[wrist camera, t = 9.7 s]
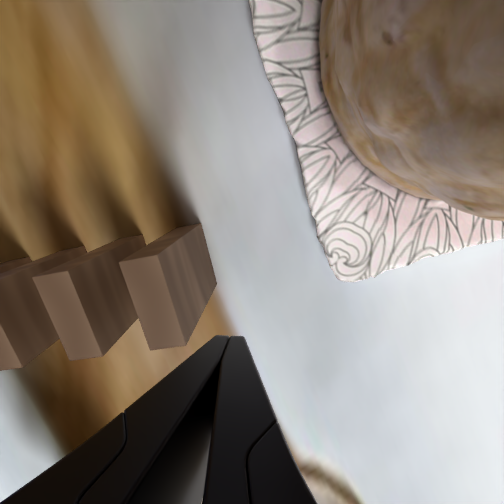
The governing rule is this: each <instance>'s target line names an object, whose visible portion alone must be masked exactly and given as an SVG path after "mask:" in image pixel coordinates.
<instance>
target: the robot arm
mask: <svg viewBox="0 0 504 504" xmlns="http://www.w3.org/2000/svg"><path fill="white" fill-rule="evenodd" d="M202 498H203V501H202ZM201 502H202V504H317V502H316V500H315V498H314V496H313V495H312V493H311V491H310V489H309V487H308V486H307V484H306V482H305V480H304V478H303V476H302V474H301V472H300V470H299V468H298V466H297V464H296V462H295V460H294V458H293V456H292V454H291V451H290V449H289V447H288V444H287V442H286V440H285V438H284V435H283V433H282V430H281V428H280V425H279V423H278V421H277V418H276V415H275V413H274V410H273V408H272V405H271V403H270V400H269V398H268V395H267V393H266V390H265V388H264V385H263V383H262V380H261V378H260V375H259V373H258V370H257V368H256V365H255V363H254V360H253V358H252V355H251V352H250V350H249V347H248V345H247V342H246V340H245V338H244V337H243V336H231V337H229V336H222V335H216V336H214V337H213V338H212V339H211V340H210V341H208V342H207V343H206V344H205V345H203V346H202V347H201V348H200V349H199V350H197V351H196V352H195V353H194V354H192V355H191V356H190V357H189V358H188V359H186V360H185V361H184V362H183V363H181V364H180V365H179V366H178V367H177V368H175V369H174V370H173V371H172V372H171V373H169V374H168V375H167V376H166V377H164V378H163V379H162V380H161V381H160V382H158V383H157V384H156V385H155V386H153V387H152V388H151V389H150V390H149V391H147V392H146V393H145V394H144V395H142V396H141V397H140V398H139V399H138V400H136V401H135V402H134V403H133V404H132V405H130V406H129V407H128V408H127V409H125V411H124V413H120V414H119V415H118V416H117V417H116V418H114V419H113V420H112V421H111V422H109V423H108V424H107V425H106V426H104V427H103V428H102V429H101V430H99V431H98V432H97V433H96V434H94V435H93V436H92V437H90V438H89V439H88V440H87V441H85V442H84V443H83V444H81V445H80V446H79V447H77V448H76V449H75V450H73V451H72V452H70V453H69V454H68V455H66V456H65V457H64V458H62V459H61V460H60V461H58V462H57V463H55V464H54V465H53V466H51V467H50V468H48V469H47V470H46V471H44V472H43V473H41V474H40V475H39V476H37V477H36V478H34V479H33V480H31V481H30V482H29V483H27V484H26V485H24V486H23V487H22V488H20V489H19V490H17V491H16V492H15V493H13V494H12V495H10V496H9V497H7V498H6V499H5V500H3V501H2V502H0V504H201Z"/></svg>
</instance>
